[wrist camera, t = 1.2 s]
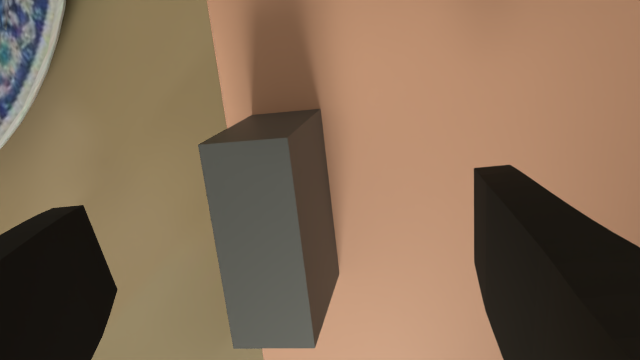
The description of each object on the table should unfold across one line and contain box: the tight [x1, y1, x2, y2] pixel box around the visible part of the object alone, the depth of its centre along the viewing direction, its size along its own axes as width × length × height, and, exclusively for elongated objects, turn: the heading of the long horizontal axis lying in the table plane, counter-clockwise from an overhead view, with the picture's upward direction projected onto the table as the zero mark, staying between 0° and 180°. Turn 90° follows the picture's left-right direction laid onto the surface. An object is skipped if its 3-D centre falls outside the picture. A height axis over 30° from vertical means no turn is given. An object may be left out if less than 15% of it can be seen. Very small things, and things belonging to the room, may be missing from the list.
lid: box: [198, 0, 640, 360], centre depth 13 cm, size 17×17×5 cm
